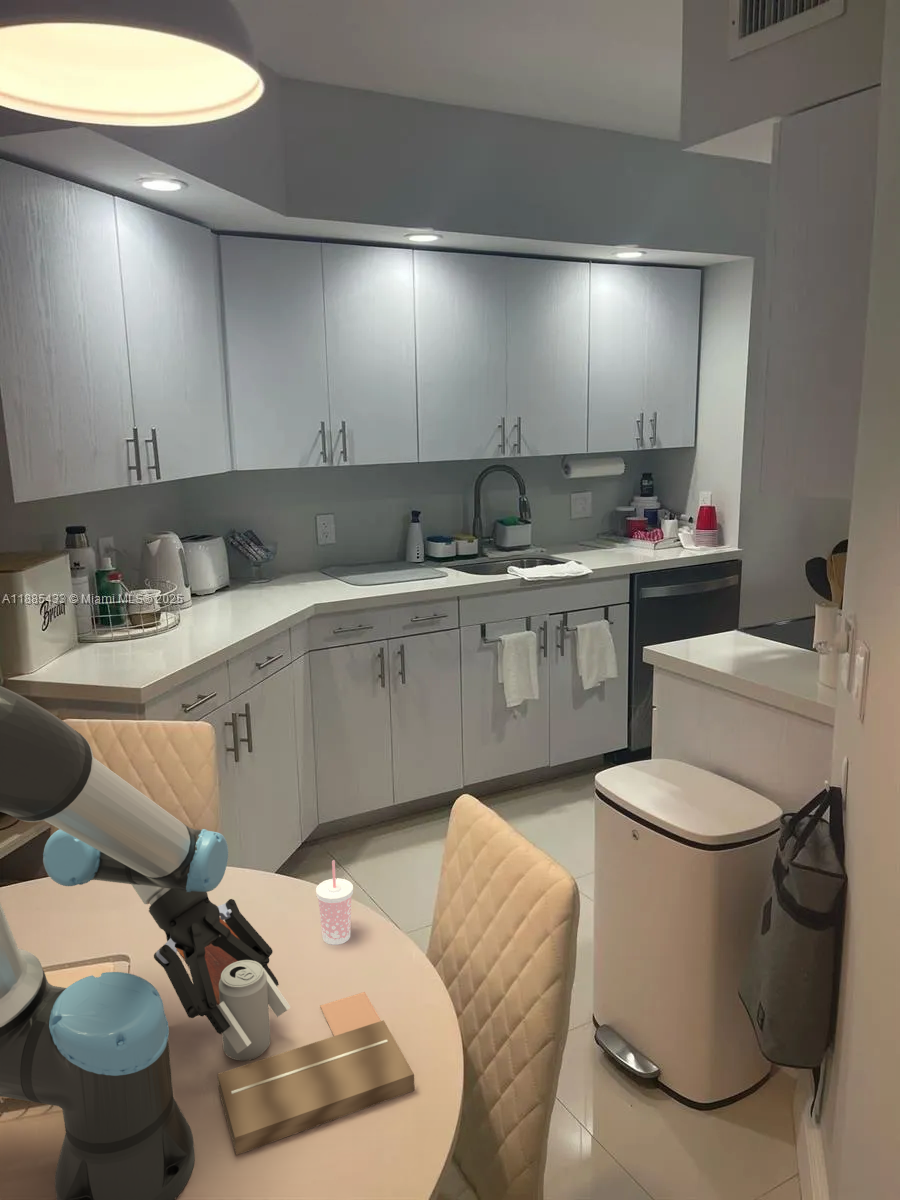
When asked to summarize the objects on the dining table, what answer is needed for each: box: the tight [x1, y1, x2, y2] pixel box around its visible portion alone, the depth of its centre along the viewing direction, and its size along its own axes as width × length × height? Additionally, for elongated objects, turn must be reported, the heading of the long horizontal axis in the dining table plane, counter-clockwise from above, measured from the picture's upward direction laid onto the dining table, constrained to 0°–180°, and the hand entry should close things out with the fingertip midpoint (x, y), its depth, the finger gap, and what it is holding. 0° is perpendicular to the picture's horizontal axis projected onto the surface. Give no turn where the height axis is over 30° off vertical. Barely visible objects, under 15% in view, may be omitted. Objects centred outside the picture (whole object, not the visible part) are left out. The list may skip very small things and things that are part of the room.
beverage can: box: [219, 960, 271, 1062], centre depth 119 cm, size 6×6×12 cm
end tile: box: [319, 991, 382, 1037], centre depth 127 cm, size 7×7×1 cm
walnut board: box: [217, 1019, 415, 1156], centre depth 113 cm, size 23×11×3 cm, turn 115°
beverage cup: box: [315, 859, 354, 946], centre depth 143 cm, size 6×6×14 cm
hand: (264, 1029), depth 118 cm, fingers open, 7 cm apart
